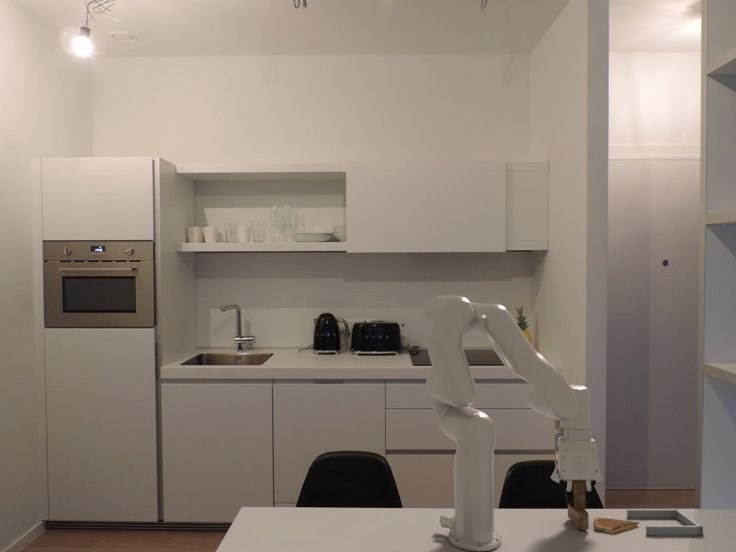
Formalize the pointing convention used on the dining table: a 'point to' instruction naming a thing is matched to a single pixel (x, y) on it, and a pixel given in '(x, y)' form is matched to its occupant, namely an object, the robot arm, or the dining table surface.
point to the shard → (613, 525)
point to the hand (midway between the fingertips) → (577, 504)
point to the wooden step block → (579, 506)
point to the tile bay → (689, 529)
